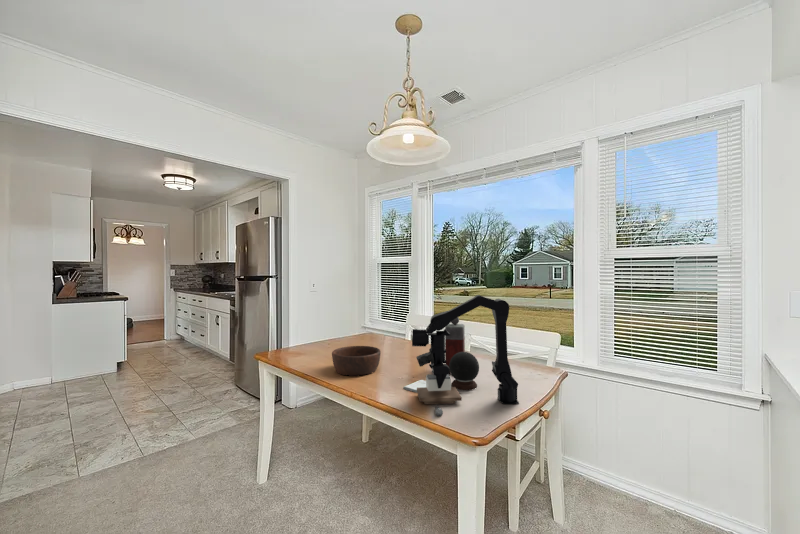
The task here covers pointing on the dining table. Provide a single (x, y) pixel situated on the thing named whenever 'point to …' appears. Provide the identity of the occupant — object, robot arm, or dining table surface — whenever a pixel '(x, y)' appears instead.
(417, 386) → the external hard drive
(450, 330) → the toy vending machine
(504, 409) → the dining table surface
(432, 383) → the block
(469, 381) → the black orb on base
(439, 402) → the stand
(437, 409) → the bolt
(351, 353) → the wooden bowl
